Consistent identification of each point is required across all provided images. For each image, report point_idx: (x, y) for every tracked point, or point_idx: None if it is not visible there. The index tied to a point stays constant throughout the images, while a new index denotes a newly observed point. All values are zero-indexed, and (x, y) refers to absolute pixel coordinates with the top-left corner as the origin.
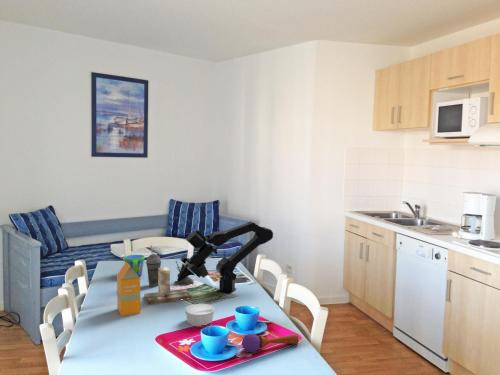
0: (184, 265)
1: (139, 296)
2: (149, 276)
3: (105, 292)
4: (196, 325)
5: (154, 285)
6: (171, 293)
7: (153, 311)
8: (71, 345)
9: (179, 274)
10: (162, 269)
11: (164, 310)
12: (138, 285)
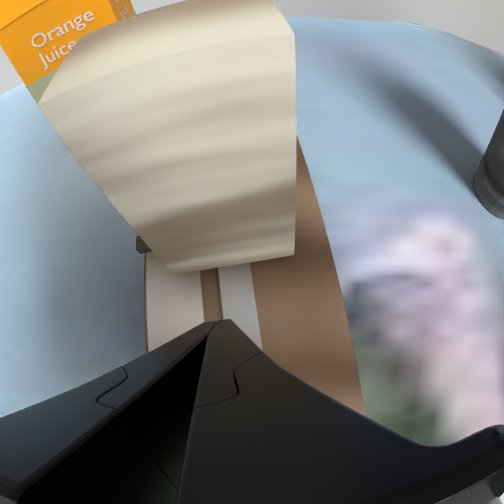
0: (15, 494)
1: (35, 97)
2: (498, 123)
3: (369, 39)
4: None
5: (480, 188)
6: (233, 292)
7: (61, 198)
8: (19, 85)
9: (215, 344)
10: (155, 19)
11: (47, 247)
12: (11, 55)
